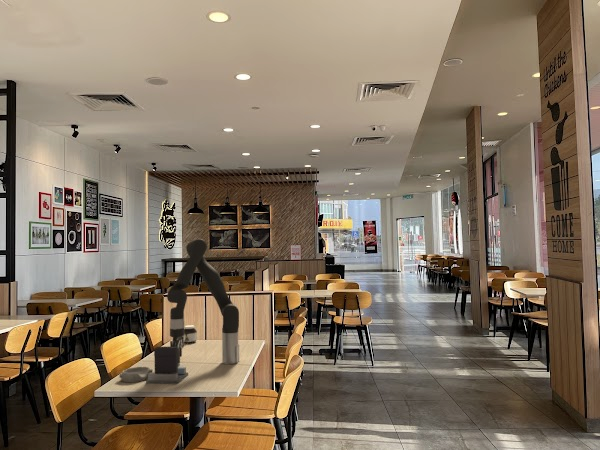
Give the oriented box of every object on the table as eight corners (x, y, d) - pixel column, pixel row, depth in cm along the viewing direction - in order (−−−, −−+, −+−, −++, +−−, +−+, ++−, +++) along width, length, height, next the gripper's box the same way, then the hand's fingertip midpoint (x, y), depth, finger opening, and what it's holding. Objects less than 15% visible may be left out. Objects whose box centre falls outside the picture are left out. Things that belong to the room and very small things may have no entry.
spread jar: (198, 341, 344) (198, 325, 344) (191, 345, 333) (191, 327, 333) (183, 341, 347) (183, 325, 347) (175, 344, 336) (175, 327, 336)
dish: (155, 376, 251) (155, 366, 251) (140, 383, 237) (140, 373, 238) (130, 375, 254) (130, 365, 254) (114, 382, 241) (114, 372, 241)
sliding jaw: (165, 368, 260) (165, 347, 261) (190, 368, 259) (190, 347, 259) (157, 373, 249) (157, 351, 250) (183, 373, 248) (183, 351, 249)
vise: (158, 375, 253) (158, 366, 253) (188, 375, 251) (188, 366, 251) (146, 383, 237) (146, 374, 238) (177, 383, 236) (177, 374, 236)
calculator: (178, 376, 244) (178, 346, 245) (175, 378, 240) (175, 347, 241) (157, 376, 245) (157, 346, 246) (154, 378, 240) (154, 348, 241)
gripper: (175, 325, 267) (175, 355, 266) (165, 329, 253) (165, 361, 252) (188, 325, 266) (188, 355, 265) (179, 329, 252) (179, 361, 251)
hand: (177, 358), depth 258 cm, fingers open, 7 cm apart
